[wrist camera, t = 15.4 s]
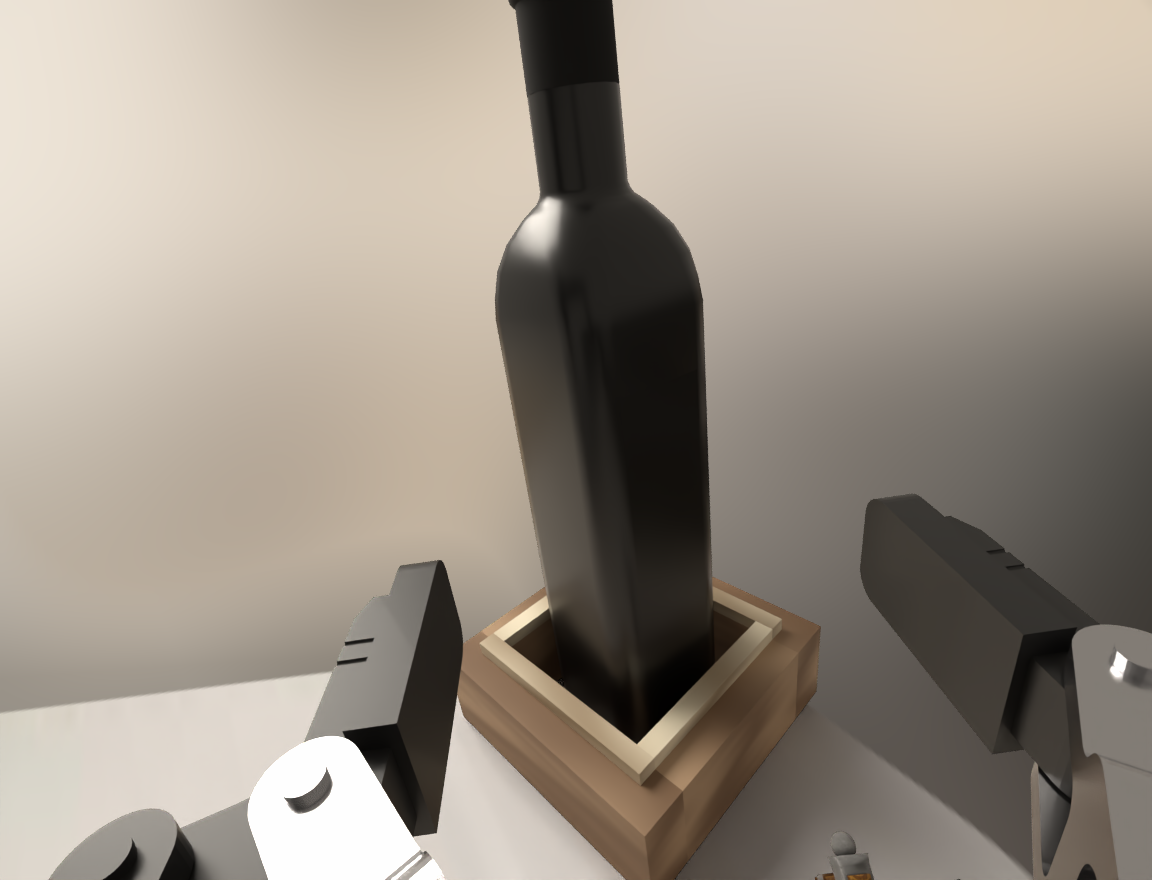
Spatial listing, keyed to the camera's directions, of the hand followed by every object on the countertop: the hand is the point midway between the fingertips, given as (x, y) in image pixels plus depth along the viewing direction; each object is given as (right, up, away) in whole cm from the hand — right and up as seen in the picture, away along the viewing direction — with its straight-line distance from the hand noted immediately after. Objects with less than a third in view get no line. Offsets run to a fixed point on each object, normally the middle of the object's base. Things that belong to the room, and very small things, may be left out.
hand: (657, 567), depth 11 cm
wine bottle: (+2, -10, +17) cm, 20 cm away
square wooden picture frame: (+1, -10, +17) cm, 20 cm away
